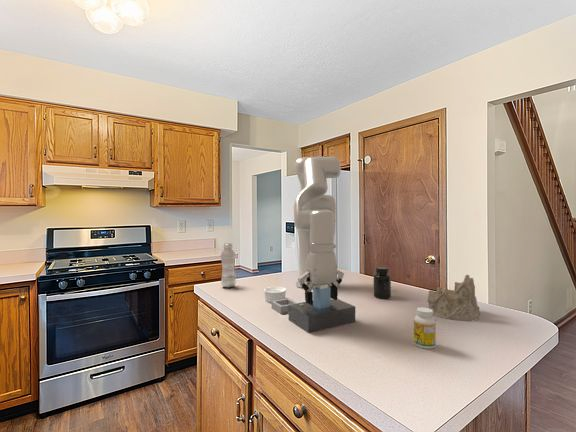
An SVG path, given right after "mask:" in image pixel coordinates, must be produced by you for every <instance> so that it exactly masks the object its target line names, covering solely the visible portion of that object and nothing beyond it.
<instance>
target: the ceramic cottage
mask: <svg viewBox="0 0 576 432" xmlns="http://www.w3.org/2000/svg"><path fill="white" fill-rule="evenodd" d="M477 300H478V299H477V296H476V285H475V281H474V278H473V277H470V275H469V274H465V276H464V279H463V281H461V282H457V281H455V282H454V289H453V290H452V289H448V288H447V286H444V287H443V289H442V287H441V286H440V287H438V286H437V288H436V291H434V290H429V291H428V294H427V300H426V301H427V303H428V308H429V309H432V310H433V316H435V317H439V318H443V319H446V320H455V321H460V320H461V322H473V321H472V320H474V321H477V320H476V319H478V320H479V317H480V314H481V312H480V307H479V306H478V301H477Z"/></svg>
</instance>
